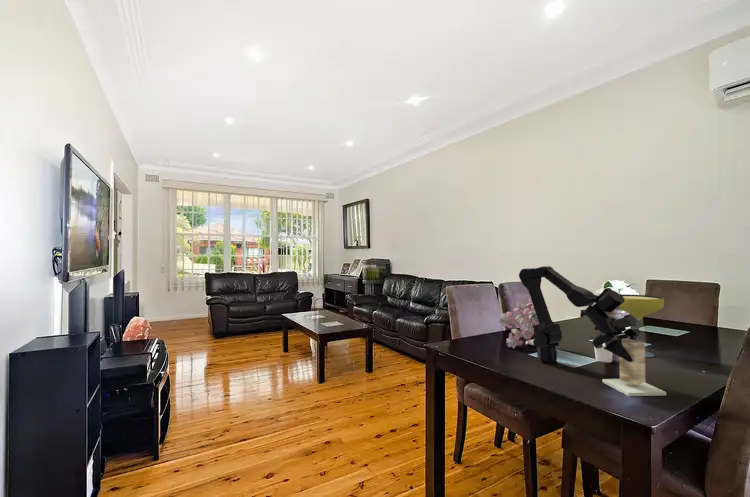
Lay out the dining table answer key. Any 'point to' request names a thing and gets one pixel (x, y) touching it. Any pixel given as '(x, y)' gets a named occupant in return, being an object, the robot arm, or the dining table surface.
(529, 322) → the flower
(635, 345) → the birch block
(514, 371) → the dining table surface
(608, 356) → the shot glass
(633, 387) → the coaster board
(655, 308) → the cocktail glass
